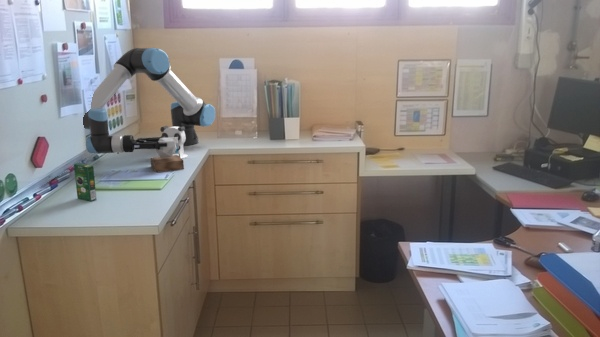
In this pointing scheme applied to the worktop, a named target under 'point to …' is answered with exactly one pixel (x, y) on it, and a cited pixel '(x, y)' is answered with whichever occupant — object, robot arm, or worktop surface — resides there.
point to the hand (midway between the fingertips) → (176, 142)
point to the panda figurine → (176, 133)
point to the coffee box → (85, 181)
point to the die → (166, 149)
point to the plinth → (167, 163)
